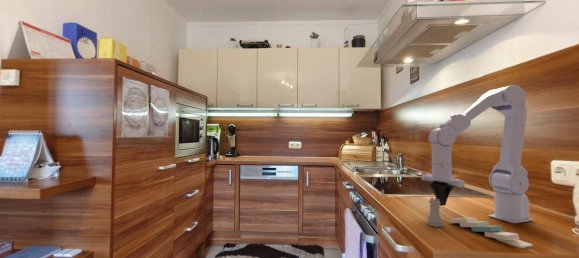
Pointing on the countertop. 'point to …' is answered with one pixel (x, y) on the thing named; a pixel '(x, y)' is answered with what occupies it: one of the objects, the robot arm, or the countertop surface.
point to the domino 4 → (502, 235)
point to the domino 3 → (487, 228)
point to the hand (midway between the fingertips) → (441, 205)
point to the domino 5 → (517, 243)
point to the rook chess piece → (434, 213)
